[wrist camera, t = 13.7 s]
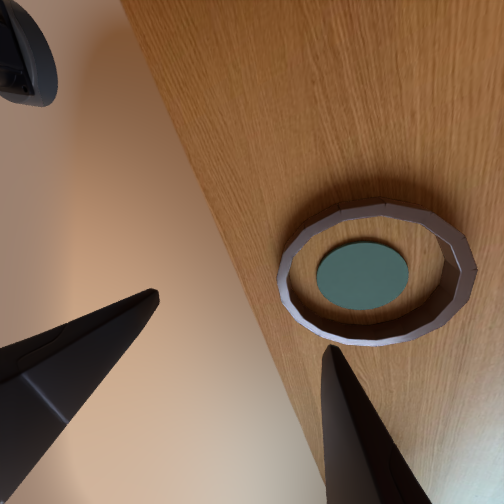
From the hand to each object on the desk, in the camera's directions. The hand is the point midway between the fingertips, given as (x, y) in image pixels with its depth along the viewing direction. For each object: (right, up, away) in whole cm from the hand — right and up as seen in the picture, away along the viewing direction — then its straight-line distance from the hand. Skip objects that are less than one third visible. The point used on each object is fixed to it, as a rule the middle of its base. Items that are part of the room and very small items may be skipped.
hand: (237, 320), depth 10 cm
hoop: (+11, +1, +10) cm, 15 cm away
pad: (+11, +1, +10) cm, 15 cm away
